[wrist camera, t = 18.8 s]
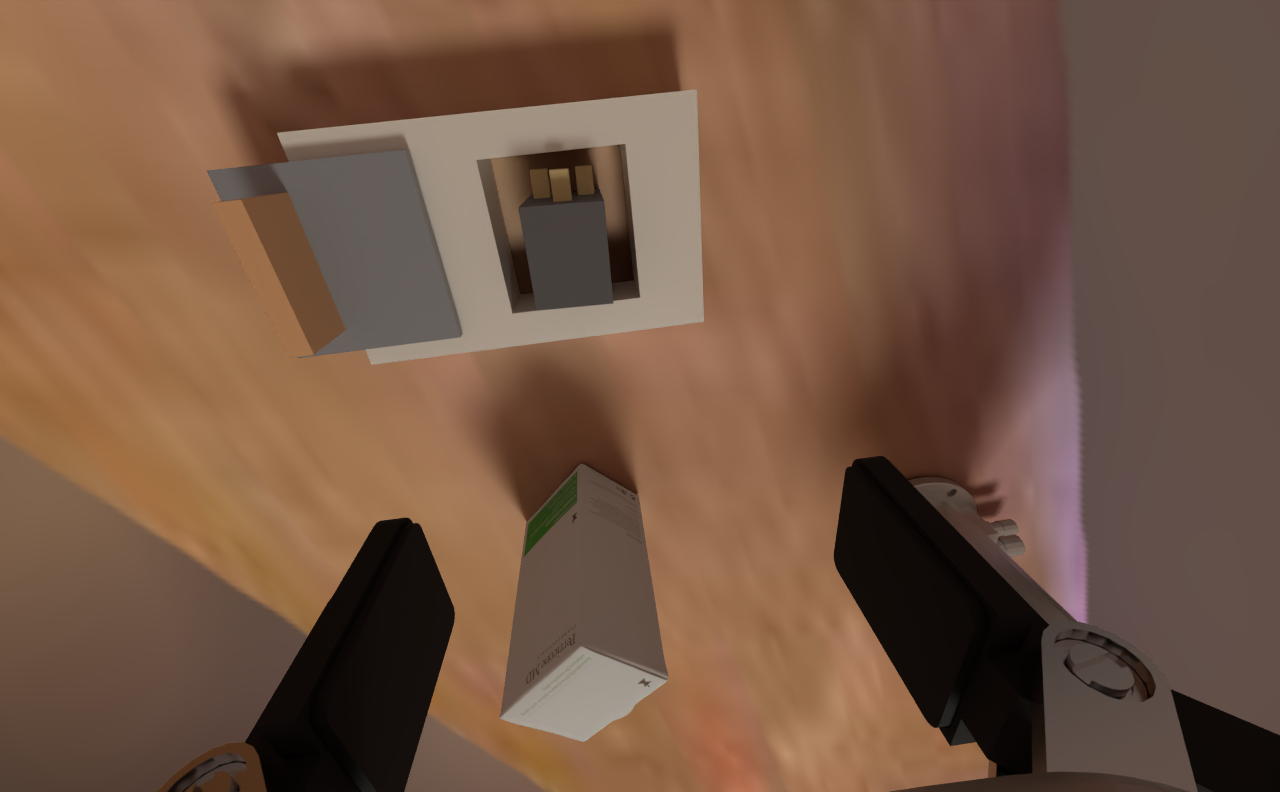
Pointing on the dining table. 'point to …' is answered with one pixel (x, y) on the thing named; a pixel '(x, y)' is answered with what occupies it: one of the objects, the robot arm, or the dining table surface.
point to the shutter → (338, 252)
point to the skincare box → (583, 612)
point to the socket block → (475, 230)
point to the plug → (566, 240)
